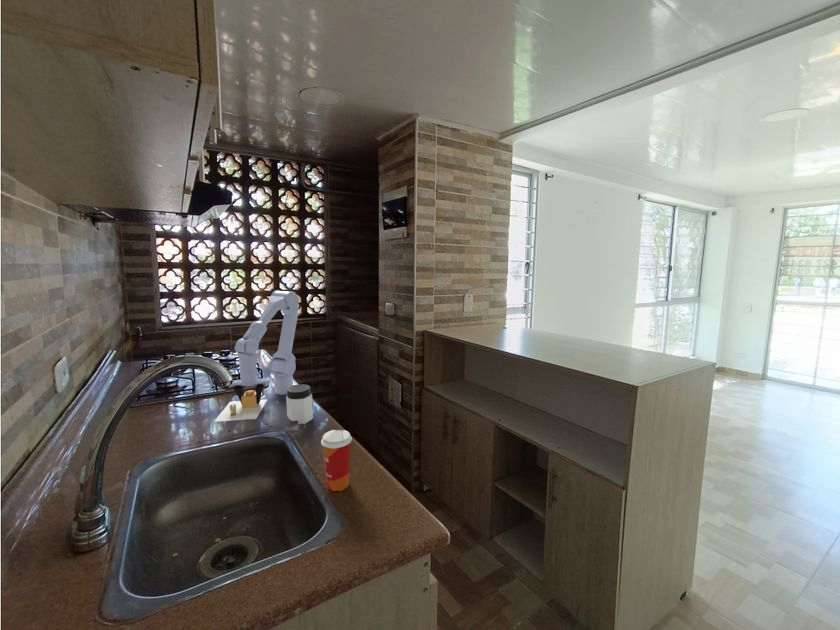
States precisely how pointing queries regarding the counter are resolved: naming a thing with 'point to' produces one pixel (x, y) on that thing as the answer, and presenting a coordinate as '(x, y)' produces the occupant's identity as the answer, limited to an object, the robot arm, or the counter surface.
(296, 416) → the jar
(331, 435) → the paper cup
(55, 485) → the counter surface
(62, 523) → the counter surface
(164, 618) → the counter surface
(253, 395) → the orange domed block
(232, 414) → the post
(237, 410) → the white board
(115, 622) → the counter surface
